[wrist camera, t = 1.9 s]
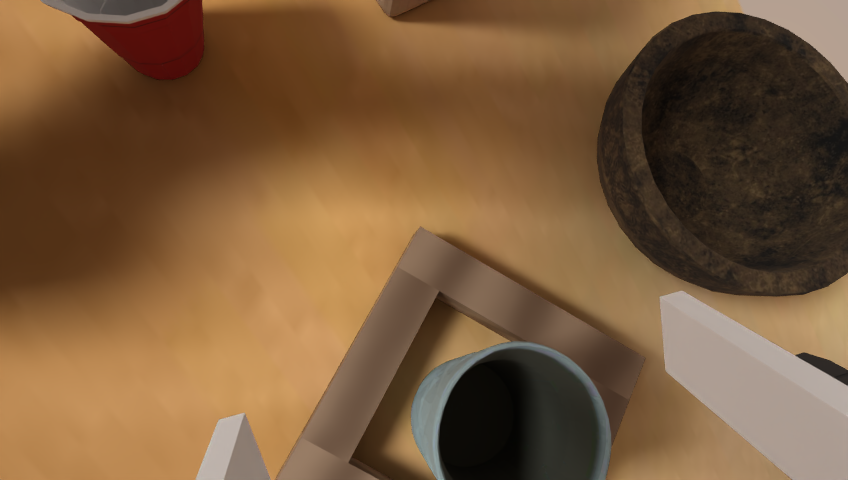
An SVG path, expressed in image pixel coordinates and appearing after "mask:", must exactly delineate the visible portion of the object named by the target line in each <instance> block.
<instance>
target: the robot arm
mask: <svg viewBox="0 0 848 480" xmlns="http://www.w3.org/2000/svg"><path fill="white" fill-rule="evenodd" d="M659 298H660V310H661V322H662V334H663V346H664V358H665V370H666V372H667V373H668V374H669V375H670V376H672V377H673V378H674V379H675V380H676V381H677V382H679V383H680V384H681V385H682V386H683V387H685V388H686V389H687V390H688V391H689V392H690V393H692V394H693V395H694V396H695V397H696V398H697V399H699V400H700V401H701V402H702V403H703V404H704V405H706V406H707V407H708V408H709V409H710V410H711V411H713V412H714V413H715V414H716V415H717V416H718V417H720V418H721V419H722V420H723V421H724V422H725V423H727V424H728V425H729V426H730V427H731V428H732V429H734V430H735V431H736V432H737V433H738V434H739V435H741V436H742V437H743V438H744V439H745V440H746V441H748V442H749V443H750V444H751V445H752V446H753V447H755V448H756V449H757V450H758V451H759V452H760V453H762V454H763V455H764V456H765V457H766V458H767V459H769V460H770V461H771V462H772V463H773V464H774V465H776V466H777V467H778V468H779V469H780V470H781V471H783V472H784V473H785V474H786V475H787V476H788V477H790V478H791V479H792V480H848V370H846V369H845V368H843V367H841V366H839V365H837V364H835V363H834V362H832V361H830V360H827V359H824V358H820V357H817V356H814V355H811V354H807V353H801V354H798V355H793V354H791V353H790V352H788V351H786V350H784V349H783V348H781V347H779V346H777V345H776V344H774V343H772V342H770V341H769V340H767V339H765V338H764V337H762V336H760V335H758V334H757V333H755V332H753V331H751V330H750V329H748V328H746V327H744V326H743V325H741V324H739V323H737V322H736V321H734V320H732V319H731V318H729V317H727V316H725V315H724V314H722V313H720V312H718V311H717V310H715V309H713V308H711V307H710V306H708V305H706V304H704V303H703V302H701V301H699V300H698V299H696V298H694V297H692V296H691V295H689V294H687V293H685V292H684V291H678V292H675V293H671V294H667V295H664V296H660V297H659ZM196 480H271V479H270V476H269V474H268V471H267V469H266V466H265V464H264V461H263V458H262V456H261V453H260V451H259V448H258V446H257V443H256V440H255V438H254V435H253V433H252V430H251V428H250V425H249V422H248V420H247V417H246V415H245V413H241V414H238V415H234V416H231V417H227V418H223V419H220V420H218V423H217V425H216V428H215V431H214V433H213V436H212V438H211V441H210V444H209V446H208V449H207V451H206V454H205V456H204V459H203V462H202V464H201V467H200V469H199V472H198V475H197V477H196Z"/></svg>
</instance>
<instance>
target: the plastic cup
mask: <svg viewBox="0 0 848 480" xmlns="http://www.w3.org/2000/svg"><path fill="white" fill-rule="evenodd" d="M41 1H42V2H43V3H44V4H46V5H48V6H50V7H53V8H55V9H58V10H60V11H63V12H65V13H68V14H70V15H72V16H73V17H74V18H75V19H76V20H78V21H80V22H82V23H83V24H84V25H85V26H86V27H87V28H88V29H89V30H91V31H92V32H93V33H94V34H95V35H96V36H97V37H98V38H100V39H101V40H102V41H103V42H104V43H105V44H106V45H107V46H109V47H110V48H111V49H112V50H113V51H114V52H115V53H117V54H118V55H119V56H120V57H122V58H123V59H124V60H126V61H127V62H128V63H129V64H130V65H131V66H132V67H134V68H135V69H136V70H137V71H138V72H141V73H142V74H144V75H147V76H150V77H152V78H155V79H167V80H173V79H176V78H179V77H182V76H185V75H187V74H189V73H190V72H191V71H192V70H193V69H195V68H196V67H197V66H198V64H199V62H200V60H201V58H202V56H203V51H204V32H203V9H202V0H41Z"/></svg>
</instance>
